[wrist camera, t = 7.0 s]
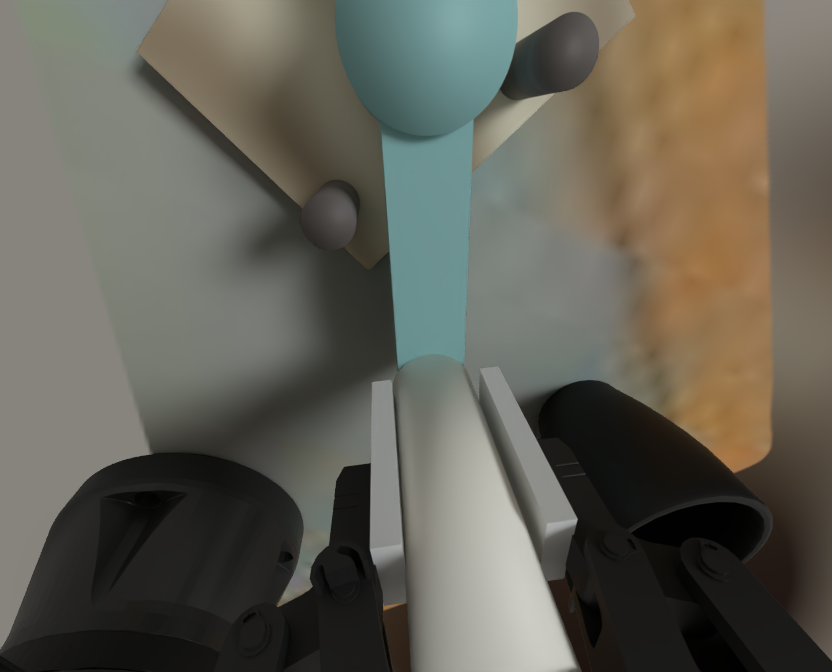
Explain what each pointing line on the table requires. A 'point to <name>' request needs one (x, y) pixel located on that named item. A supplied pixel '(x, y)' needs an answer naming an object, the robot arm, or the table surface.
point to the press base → (346, 96)
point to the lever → (446, 338)
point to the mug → (654, 472)
